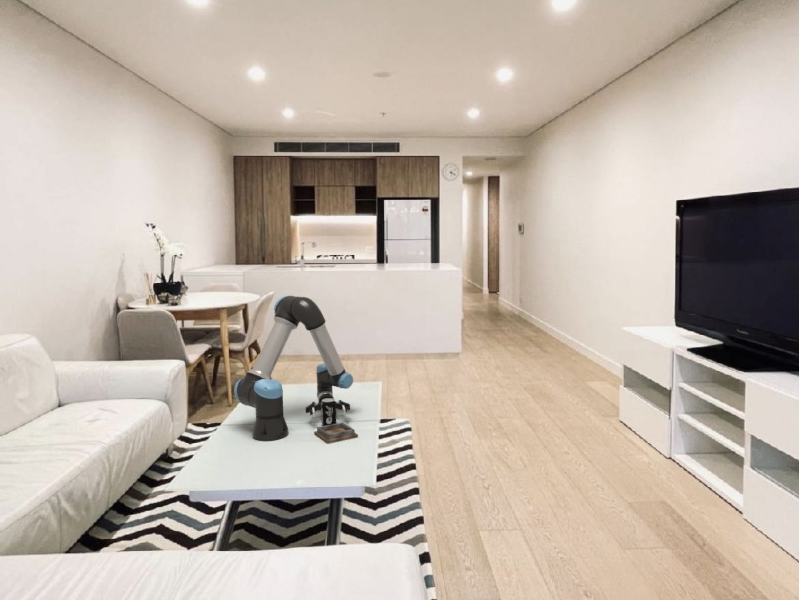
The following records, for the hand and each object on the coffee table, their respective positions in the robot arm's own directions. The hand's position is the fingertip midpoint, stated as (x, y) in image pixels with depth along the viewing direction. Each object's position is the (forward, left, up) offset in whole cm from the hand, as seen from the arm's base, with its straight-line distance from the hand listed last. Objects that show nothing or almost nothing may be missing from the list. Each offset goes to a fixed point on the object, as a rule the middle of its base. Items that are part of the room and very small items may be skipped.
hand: (329, 413), depth 253 cm
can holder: (-2, -11, -7) cm, 13 cm away
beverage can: (+1, +3, -7) cm, 7 cm away
